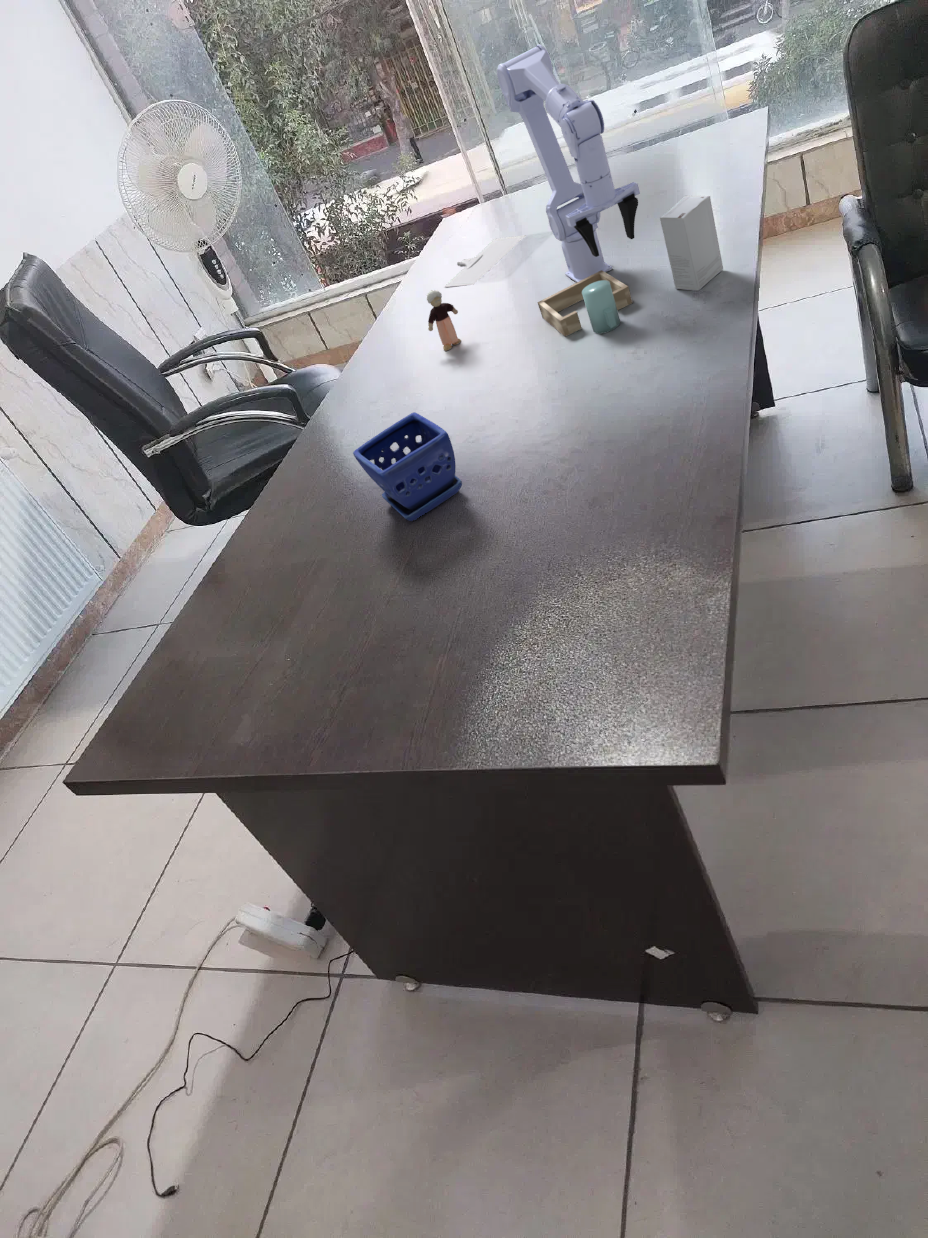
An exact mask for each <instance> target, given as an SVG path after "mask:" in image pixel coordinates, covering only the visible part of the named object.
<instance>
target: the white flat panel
mask: <svg viewBox="0 0 928 1238" xmlns="http://www.w3.org/2000/svg"><path fill="white" fill-rule="evenodd" d="M526 236H527V235H526V234H525V235H517V236H509V237H507V236H506V237H500V238H494V239H493V240H491V242H490V243H488V244H487V245H486V246H485V247H484V248H483V249H482V250H481V251H480V252H479V253H478V254H477V255H476V256H474V257H471V258H466V259H462V260H461V261H458V262H457V264H456V265H457V266H459V267H463V268H462V269H461V270H460V271H459V272H458V273H457V274H456V275H455V276H453V278H452V279H450V281H449V282H447V283H446V284H445V285H444V288H452V287H463V286H464V287H465V286H474V285H475V284H477V282H478V281H479V280H481V278H482V277H483V276H485V275H486V274H487V273H488V272H489V271H490V270H491V269H492V268H494V267H495V265H497V263H498V262H499V261H501V260H502V259H503V258H504V257H505V256H506V255H507V254H508V253H509V252H510V251H511V250H512V249H513V248H515V247H516V246H517V245H518V244H519V243H520V242H522V240H523V239H524V238H525V237H526Z"/></svg>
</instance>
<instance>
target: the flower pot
mask: <svg viewBox="0 0 928 1238" xmlns="http://www.w3.org/2000/svg"><path fill="white" fill-rule="evenodd" d="M406 436H407V437H406ZM418 436H420V438H421V439H420V441H417V437H418ZM394 443H396V445H397V446H398V448H397V449H395V450H392V445H394ZM406 448H408V449H409V452H408V453H407V454H406V453H405V452H404V450H405V449H406ZM352 454H353V456H354V459H355V460H356V461H357V462H358V464H359V465H360V467H361V468H362V469H363V471H365V473H366V474H367V475H368V477H370V479H372V481H373V482H374V483H375V484H376V485H377V486H378V487H379V488H380V489H381V490H382V491H383V493H382V494H381V497H382V498H383V499H384V500H385V501H386V502H387V503H388V504H389V505H390V506H391V507H392V508H393V509H395V511H396V512H397V513H399V514H400V515H401V517H403V518H404V519H405V520H406V521H408V522H409V521H410V522H414V521H416V520H418V519H419V517H420V516H421V517H423V516H424V515H426V514H427V513H429V512H431V511H432V510H434V509H435V508H436V507H438V506H440V505H441V504H442V503H444V502H446V501H447V500H448V499H450V498H451V497H453V496H454V495H456V494H457V493H458V492H459V491H460V489H461V488H462V485H463V481H462V479H460V478H459V477H458V476H457V475H456V467H457V466H456V457H455V451H454V447H453V444H452V441H451V438H450V435H449V434H448V432H447V431H446V430H445V429H443V428H442V427H441V426H439V425H438V424H436V423H434V422H433V421H431V420H430V419H428V418H426V417H424V416H423V415H421V414H419V413H417V412H411V413H409V414H408V415H407V416H404V417H403V418H402V419H400V420H398V421H397V422H395V423H392V425H390V426H389V427H387V428H385V429H383V430H382V431H380V433H378V434H377V435H375V436H374V437H372V438H371V439H368V440H367V441H366V442H365V443H363V444H362V445H361V446H359V447H357V448H356V449H355V450H353V452H352ZM381 458H383V460H382V461H380V459H381ZM393 459H395V460H394V461H395V462H393V461H392V460H393ZM372 461H373V462H372ZM392 462H393V463H392ZM425 513H426V514H425ZM422 515H423V516H422ZM421 517H420V518H421ZM417 518H418V519H417ZM413 520H414V521H413Z"/></svg>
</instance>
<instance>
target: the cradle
mask: <svg viewBox="0 0 928 1238" xmlns="http://www.w3.org/2000/svg"><path fill="white" fill-rule="evenodd" d="M601 280H607V281H609V282H610V285H611V289H612V292H613V296H614V300H615V303H616V307H617V311H618V312H619V311H620V310H621V309H624V308H625V307H627V306H629V305H632V304H633V300H632V296H631V292H630V291H631V290H630V288H629V285H626V284H625V283H623V282H621V280H618V279H617V278H615V277H614V276H612V275H610V274H609V273H607V272H604V271H602V270H601V271H599V272H597V273H595V274H593V275H591V276H589V277H587V278H585V279H583V280H581V281H579V282H575V283H573V284H571V285H570V286H567V287H565V288H563V289H561V290H559V291H558V292H555V293H554V294H551V295H548V296H547V297H545V298H544V299H542V300H540V301H538V302H537V305H538V309H539V312H540V314H541V317H542V319H543V320H544V321H545V322H547V323H549V324H550V326H552V327H553V328H554V329H555V330H557V332H559V333H560V334H561V335H562V336H564V337H565V338H566V337H568V336H569V335H572V334H574V333H576V332H577V331H580V330H582V329H583V327H582V324H581V321H580V320H581V319H580V316H579V315H578V314H579V313H578V312H577V311H576V310H574V311H572V312H570V313H567V314H566V315H564V316H563V315H561V314H560V313H558V312H562V311H563V310H565V309H567V308H569V307H571V306H573V305H574V304H577V303H579V302H580V301H584V299H583V295H582V290H583V289H584V288H585V287H586V286H588V285H589V284H591V283H594V282H597V281H601Z"/></svg>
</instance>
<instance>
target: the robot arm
mask: <svg viewBox="0 0 928 1238" xmlns="http://www.w3.org/2000/svg"><path fill="white" fill-rule="evenodd" d="M550 56H551V55H550V54H549V52H548V50H547V48H546V47H545V46H543V45H542V44H540V43H538V44H536V46H535V47H533V48H531V49H529V50H527V51H525V52H522V53H521V54H519V55H517V56H515V57H513V58H511V59H509V60H506V61H505V62H503V63H502V62H501V63H499V64H498V65H497V68H496V77H497V80H498V81H497V82H498V85H499V89H500V90H501V91H500V92H501V93H502V96H503V98H504V100H505V103H506V106H507V107H508V108H509V111H510V112H512V113H519V116H520V118H521V119H522V121H523V123H524V125H525V128H526V131H527V132H528V135H529V137H530V140H531V142H532V145H533V147H534V150H535V153H536V155H537V157H538V160H539V162H540V166H541V167H542V170H543V172H544V175H545V177H546V180H547V183H548V185H549V187H550V189H551V195H550V197H549V199H548V201H547V203H546V206H545V213H546V215H547V219H548V224H549V225H548V226H549V227H550V230H551V232H552V234H553V236H554V237H555V239H556V240H558V241H560V242H561V243H560V244H561V245H560V246H561V248H562V249H561V250H562V253H563V256H564V259H565V263H566V267H567V269H568V270H567V271H565V273H564V275H565V276H566V277H568V278H569V279H571V280H573V281H574V282H575V283H577V282H579V281H581V280H583V279H585V278H587V277H589V276H591V275H593V274H595V273H597V272H599V271H601V270H602V271H604V272H606V273H607V272H609V271H611V270H613V268H614V267H613V265H610V264H608V263H607V262H606V261H605V258H604V256H603V252H602V248H601V247H602V246H601V244H600V240H599V237H598V233H597V229H598V228H599V226H598V224H599V222H600V219H601V212H603V211H605V210H607V209H610V208H611V207H614V206H615V205H617V207H618V208H619V211H620V214H621V217H622V218H621V219H622V222H623V225H624V226H623V227H624V230H625V235H626V237H627V238H628V239H630V240H633V239H635V221H636V220H635V219H636V215H637V214H636V213H637V210H638V206H639V200H638V198H637V197H636V196H638V195H640V194H641V191H640V186H639V183H637V182H635V181H632V182H630V183H628V184H626V185H623V186H620V187H618V188H615V185H614V181H613V176H612V171H611V168H610V164H609V160H608V156H607V151H606V148H605V145H604V139H603V136H602V135H601V134H604V132H605V121H604V117H603V114H602V111H601V109H600V107H599V104H597V102H595V100H594V99H585V100H584V99H583V98H582V97H581V96H579V95H578V93H577V92H576V91H575V90H574V89H573V88H572V87H571V86H570V85H569V84H566V83H559V81H558V80H557V79H556V77H555V75H554V74H553V73H554V72H553V71H554V69H553V63H552V58H551V57H550ZM544 101H545V102H544ZM544 103H545V104H544ZM544 105H545V106H544ZM548 114H549V116H550V117H551V118H552V119H553V121H555V123H556V124H557V125H558V126H559V127H560V129H561V134H562V137H563V139H564V141H565V143H566V145H567V148H568V152H569V154H570V156H571V158H573V159H574V163H575V167H576V170H577V174H578V178H579V182H580V183H579V182H576V181H574V178H573V176H572V174H571V171H570V168H569V166H568V164H567V162H566V158H565V156H564V154H563V151H562V149H561V145H560V144H559V141H558V139H557V136H556V133H555V131H554V127H553V126H552V123H551V121H550V119H549V116H548ZM573 199H575V200H573ZM571 200H572V201H571ZM568 202H569V203H568ZM566 203H567V204H566ZM564 204H565V205H564ZM562 205H563V206H562Z"/></svg>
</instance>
